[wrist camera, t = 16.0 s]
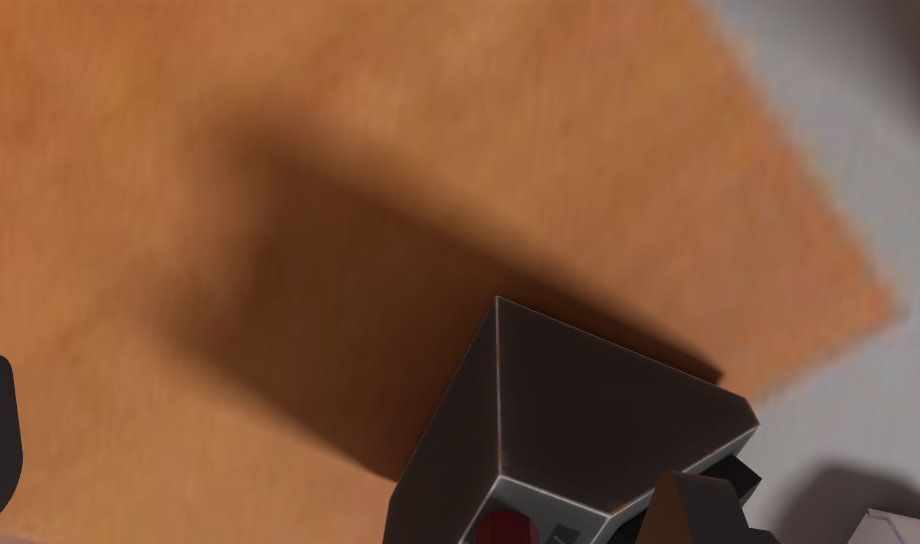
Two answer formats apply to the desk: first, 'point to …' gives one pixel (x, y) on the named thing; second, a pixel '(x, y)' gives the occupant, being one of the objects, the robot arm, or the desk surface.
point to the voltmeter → (560, 439)
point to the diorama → (886, 529)
